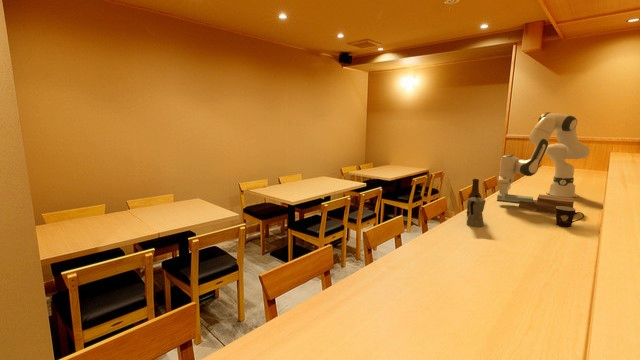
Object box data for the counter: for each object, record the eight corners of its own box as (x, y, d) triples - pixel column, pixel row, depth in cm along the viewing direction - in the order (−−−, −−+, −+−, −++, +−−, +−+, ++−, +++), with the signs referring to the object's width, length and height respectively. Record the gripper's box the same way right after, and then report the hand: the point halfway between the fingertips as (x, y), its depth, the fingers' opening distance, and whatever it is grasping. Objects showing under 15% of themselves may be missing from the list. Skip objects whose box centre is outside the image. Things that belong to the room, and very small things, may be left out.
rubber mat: (500, 197, 234) (500, 195, 234) (541, 202, 218) (541, 200, 217) (496, 200, 225) (496, 199, 225) (540, 205, 209) (540, 204, 208)
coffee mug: (550, 224, 173) (552, 207, 171) (559, 222, 177) (561, 205, 175) (574, 231, 163) (576, 212, 161) (583, 228, 166) (585, 210, 164)
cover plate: (498, 196, 219) (499, 193, 218) (532, 200, 206) (533, 196, 205) (497, 198, 214) (497, 195, 214) (531, 202, 201) (532, 198, 201)
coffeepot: (470, 220, 185) (471, 191, 182) (487, 223, 179) (489, 193, 176) (461, 227, 174) (462, 196, 171) (478, 230, 168) (481, 198, 165)
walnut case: (520, 204, 213) (521, 192, 212) (572, 211, 196) (574, 197, 194) (517, 208, 204) (518, 196, 203) (572, 215, 187) (573, 202, 185)
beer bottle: (479, 219, 185) (481, 180, 181) (465, 217, 190) (467, 179, 185) (481, 216, 191) (484, 178, 187) (468, 214, 196) (470, 177, 191)
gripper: (503, 175, 221) (502, 194, 223) (497, 180, 205) (496, 200, 208) (513, 176, 217) (512, 195, 220) (508, 181, 201) (507, 201, 204)
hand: (504, 197), depth 214 cm, fingers closed on cover plate, 6 cm apart
